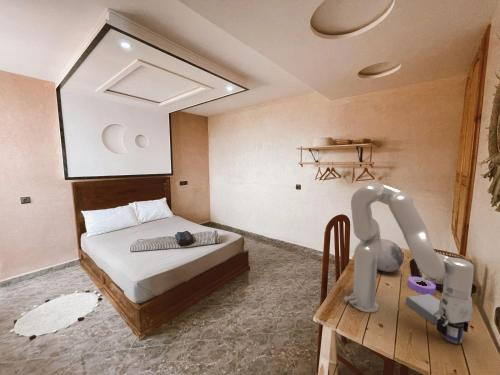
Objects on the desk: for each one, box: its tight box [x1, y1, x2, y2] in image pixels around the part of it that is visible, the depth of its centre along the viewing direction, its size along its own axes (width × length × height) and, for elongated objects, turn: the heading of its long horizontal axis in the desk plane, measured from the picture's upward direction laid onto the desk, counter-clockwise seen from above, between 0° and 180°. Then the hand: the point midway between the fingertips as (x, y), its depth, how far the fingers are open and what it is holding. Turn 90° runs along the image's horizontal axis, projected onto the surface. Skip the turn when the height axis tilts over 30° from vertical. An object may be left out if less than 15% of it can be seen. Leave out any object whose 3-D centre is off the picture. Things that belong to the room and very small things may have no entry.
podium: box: [405, 294, 442, 325], centre depth 96 cm, size 13×13×4 cm
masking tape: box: [407, 276, 437, 296], centre depth 114 cm, size 12×12×4 cm
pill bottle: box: [440, 315, 464, 345], centre depth 81 cm, size 6×6×11 cm
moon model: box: [377, 238, 405, 273], centre depth 133 cm, size 20×20×20 cm
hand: (451, 331), depth 81 cm, fingers open, 9 cm apart
